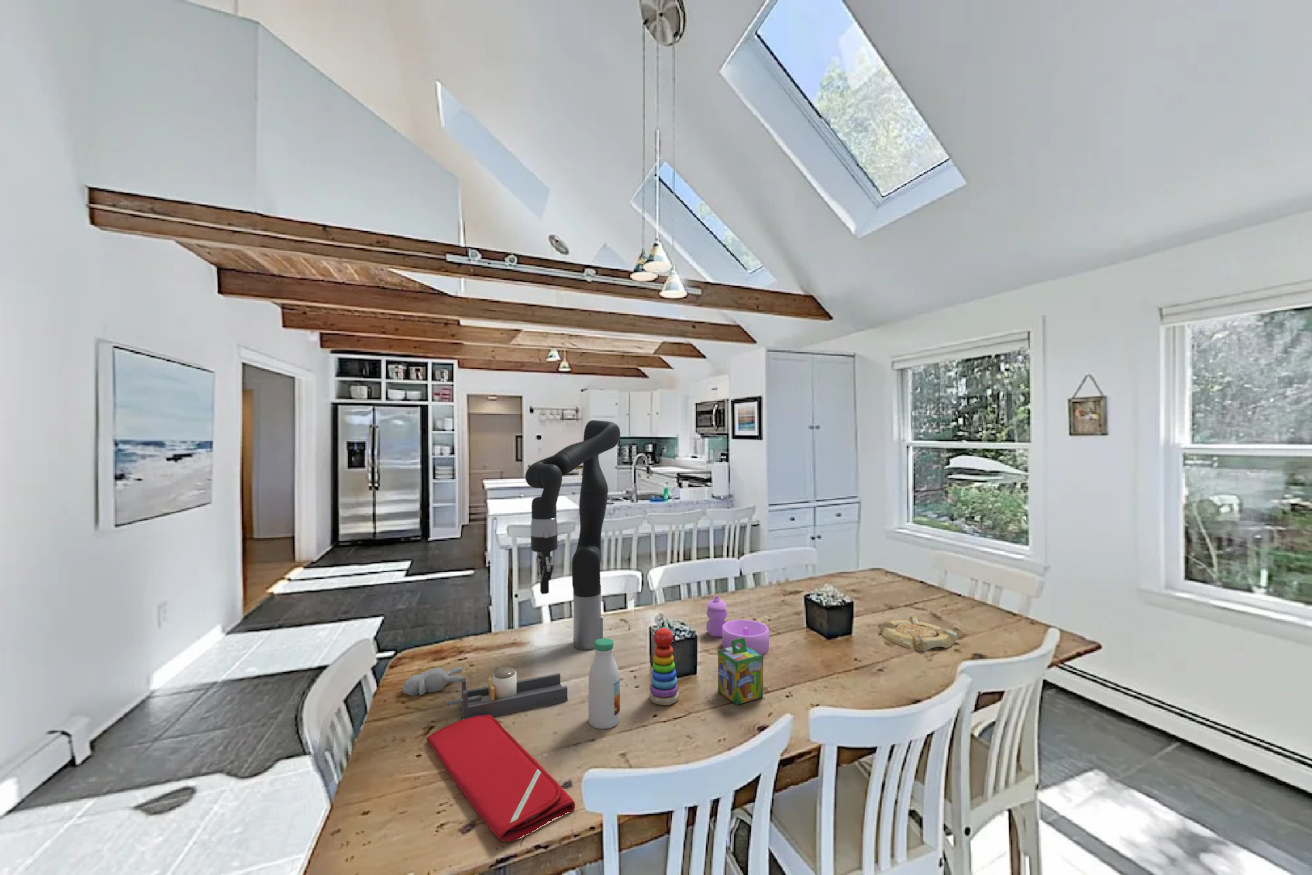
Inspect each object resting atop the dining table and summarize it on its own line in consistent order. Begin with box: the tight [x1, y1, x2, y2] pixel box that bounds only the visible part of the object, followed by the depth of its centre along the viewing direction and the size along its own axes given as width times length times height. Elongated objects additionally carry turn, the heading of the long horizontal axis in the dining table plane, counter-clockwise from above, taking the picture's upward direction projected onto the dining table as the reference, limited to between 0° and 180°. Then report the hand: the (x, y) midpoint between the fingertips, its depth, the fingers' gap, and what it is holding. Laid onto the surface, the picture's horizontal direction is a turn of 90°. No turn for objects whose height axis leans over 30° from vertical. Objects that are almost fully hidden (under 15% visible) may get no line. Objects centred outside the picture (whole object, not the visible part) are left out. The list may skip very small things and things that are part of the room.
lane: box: [460, 672, 568, 720], centre depth 139 cm, size 26×10×7 cm, turn 113°
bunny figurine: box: [402, 666, 463, 696], centre depth 147 cm, size 10×5×15 cm
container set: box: [705, 595, 770, 656], centre depth 179 cm, size 25×15×13 cm, turn 37°
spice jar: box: [492, 666, 518, 700], centre depth 138 cm, size 6×6×8 cm
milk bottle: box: [588, 637, 621, 730], centre depth 130 cm, size 8×8×20 cm
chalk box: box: [717, 638, 764, 706], centre depth 143 cm, size 9×9×15 cm
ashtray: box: [877, 615, 958, 652], centre depth 182 cm, size 24×24×5 cm
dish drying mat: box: [426, 715, 576, 842], centre depth 111 cm, size 16×41×4 cm, turn 40°
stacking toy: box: [648, 627, 680, 706], centre depth 141 cm, size 8×8×19 cm
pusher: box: [447, 676, 495, 707], centre depth 135 cm, size 11×7×5 cm, turn 113°
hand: (544, 593), depth 152 cm, fingers closed
